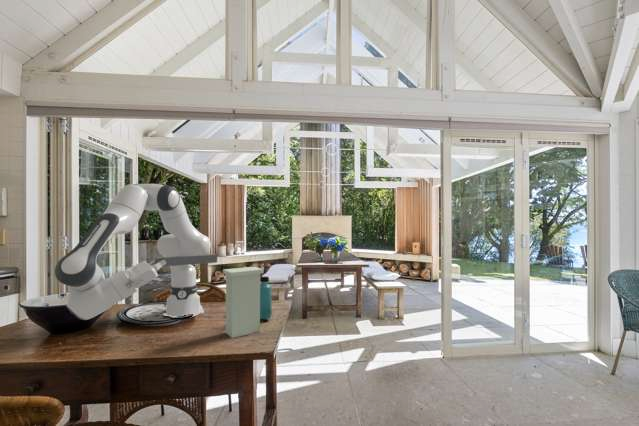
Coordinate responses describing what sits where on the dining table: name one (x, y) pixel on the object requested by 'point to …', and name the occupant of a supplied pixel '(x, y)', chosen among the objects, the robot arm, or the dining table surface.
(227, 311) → the sage stand
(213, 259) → the graphite bar
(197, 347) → the dining table surface
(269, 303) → the beverage bottle
